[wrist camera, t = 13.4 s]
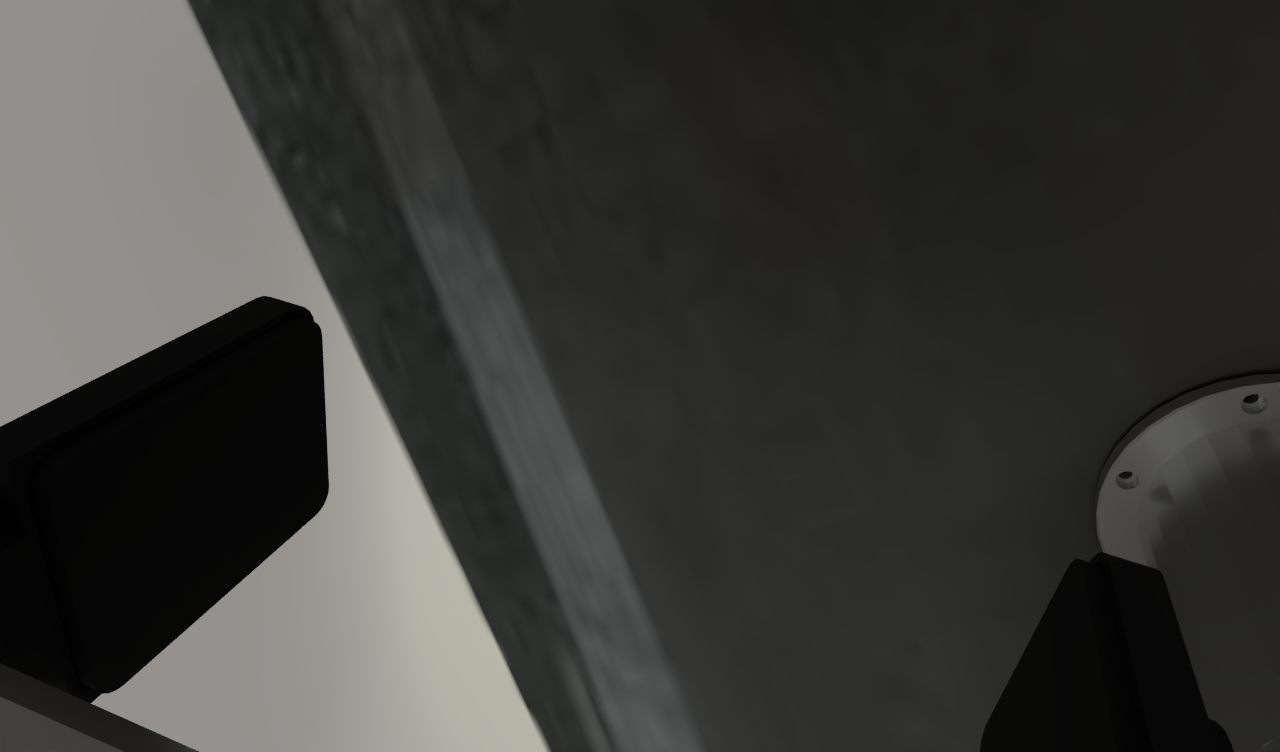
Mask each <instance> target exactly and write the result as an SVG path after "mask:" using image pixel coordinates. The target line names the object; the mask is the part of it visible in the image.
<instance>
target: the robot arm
mask: <svg viewBox="0 0 1280 752" xmlns="http://www.w3.org/2000/svg"><path fill="white" fill-rule="evenodd" d="M1252 394H1255V395H1254V396H1253V397H1252V398H1249V399H1244V398H1245V397H1246V396H1249V395H1252ZM1123 472H1128V473H1125V474H1123ZM328 490H329V479H328V457H327V434H326V412H325V392H324V368H323V346H322V333H321V329H320V327H319V325H318V324H317V323H315V322H314V320H313V316H312V314H311V313H310V311H309V310H307V309H306V308H305V307H301V306H298V305H295V304H292V303H288V302H285V301H282V300H279V299H275V298H272V297H267V296H262V297H259V298H256V299H254V300H252V301H250V302H248V303H246V304H244V305H242V306H240V307H238V308H236V309H234V310H232V311H230V312H228V313H226V314H224V315H222V316H220V317H218V318H216V319H214V320H212V321H210V322H208V323H206V324H204V325H202V326H200V327H198V328H196V329H194V330H192V331H190V332H188V333H186V334H184V335H182V336H180V337H178V338H176V339H174V340H172V341H170V342H168V343H166V344H164V345H162V346H160V347H158V348H156V349H154V350H152V351H150V352H148V353H146V354H144V355H142V356H140V357H139V358H136V359H135V360H132V361H130V362H128V363H126V364H124V365H122V366H120V367H119V368H116V369H114V370H112V371H111V372H109V373H107V374H105V375H103V376H101V377H99V378H97V379H95V380H93V381H91V382H89V383H87V384H85V385H83V386H81V387H79V388H77V389H75V390H73V391H71V392H69V393H67V394H65V395H63V396H61V397H59V398H57V399H55V400H53V401H51V402H49V403H47V404H45V405H43V406H41V407H39V408H37V409H35V410H33V411H31V412H29V413H27V414H25V415H23V416H21V417H19V418H17V419H15V420H13V421H11V422H9V423H7V424H5V425H3V426H1V427H0V752H198V751H196V750H194V749H191V748H189V747H187V746H185V745H183V744H180V743H178V742H176V741H173V740H171V739H169V738H167V737H164V736H162V735H160V734H158V733H156V732H153V731H151V730H149V729H147V728H144V727H142V726H140V725H138V724H135V723H133V722H131V721H129V720H126V719H124V718H122V717H120V716H117V715H115V714H113V713H111V712H108V711H106V710H104V709H102V708H99V707H97V706H95V705H93V704H90V703H92V702H93V701H94V700H95V699H96V698H97V697H98V696H100V695H101V694H102V693H110V692H113V691H115V690H117V689H119V688H120V687H121V686H123V685H124V684H125V683H126V682H127V681H129V680H130V679H131V678H132V677H133V676H134V675H135V674H136V673H138V672H139V671H140V670H141V669H142V668H143V667H144V666H146V665H147V664H148V663H149V662H150V661H151V660H152V659H153V658H154V657H156V656H157V655H158V654H159V653H160V652H161V651H162V650H164V649H165V648H166V647H167V646H168V645H169V644H170V643H172V642H173V641H174V640H175V639H176V638H177V637H178V636H179V635H181V634H182V633H183V632H184V631H185V630H186V629H187V628H188V627H190V626H191V625H192V624H193V623H194V622H195V621H196V620H198V619H199V618H200V617H201V616H202V615H203V614H204V613H206V612H207V611H208V610H209V609H210V608H211V607H212V606H213V605H215V604H216V603H217V602H218V601H219V600H220V599H221V598H222V597H224V596H225V595H226V594H227V593H228V592H229V591H230V590H231V589H233V588H234V587H235V586H236V585H237V584H238V583H239V582H241V581H242V580H243V579H244V578H245V577H246V576H247V575H249V574H250V573H251V572H252V571H253V570H254V569H255V568H256V567H258V566H259V565H260V564H261V563H262V562H263V561H264V560H265V559H267V558H268V557H269V556H270V555H271V554H272V553H273V552H275V551H276V550H277V549H278V548H279V547H280V546H281V545H282V544H284V543H285V542H286V541H287V540H288V539H289V538H290V537H292V536H293V535H294V534H295V533H296V532H297V531H298V530H300V529H301V528H302V527H303V526H304V525H305V524H306V523H307V522H308V521H310V520H311V519H312V518H313V517H314V516H315V515H316V514H317V513H318V512H319V511H320V510H321V508H322V507H323V505H324V503H325V501H326V498H327V495H328ZM1094 518H1095V523H1096V529H1097V534H1098V538H1099V541H1100V544H1101V547H1102V550H1103V552H1101V553H1097V554H1096V555H1095V556H1094V557H1093V558H1092V560H1091V561H1090V562H1086V561H1083V560H1080V559H1075V560H1074V561H1073V562H1072V563H1071V564H1070V565H1069V567H1068V569H1067V570H1066V572H1065V574H1064V576H1063V578H1062V580H1061V582H1060V584H1059V586H1058V588H1057V590H1056V592H1055V593H1054V595H1053V597H1052V599H1051V601H1050V603H1049V605H1048V607H1047V609H1046V611H1045V613H1044V615H1043V616H1042V618H1041V620H1040V622H1039V624H1038V626H1037V628H1036V630H1035V632H1034V634H1033V636H1032V638H1031V640H1030V641H1029V643H1028V645H1027V647H1026V649H1025V651H1024V653H1023V655H1022V657H1021V659H1020V661H1019V663H1018V664H1017V666H1016V668H1015V670H1014V672H1013V674H1012V676H1011V678H1010V680H1009V682H1008V684H1007V686H1006V687H1005V689H1004V691H1003V693H1002V695H1001V697H1000V699H999V701H998V703H997V705H996V707H995V709H994V710H993V712H992V714H991V716H990V718H989V720H988V722H987V724H986V727H985V730H984V733H983V736H982V741H981V747H980V752H1280V374H1260V375H1251V376H1246V377H1241V378H1236V379H1230V380H1225V381H1220V382H1217V383H1214V384H1211V385H1208V386H1205V387H1202V388H1200V389H1197V390H1194V391H1191V392H1188V393H1186V394H1184V395H1182V396H1180V397H1178V398H1176V399H1174V400H1172V401H1170V402H1169V403H1167V404H1165V405H1163V406H1161V407H1159V408H1157V409H1156V410H1155V411H1153V412H1152V413H1151V414H1149V415H1148V416H1147V417H1146V418H1144V419H1143V420H1142V421H1140V422H1139V423H1138V424H1136V425H1135V426H1134V427H1133V428H1132V429H1131V430H1130V431H1129V432H1128V433H1127V434H1126V435H1125V437H1124V438H1123V439H1122V440H1121V441H1120V442H1119V443H1118V444H1117V445H1116V447H1115V448H1114V450H1113V451H1112V453H1111V455H1110V456H1109V458H1108V460H1107V462H1106V463H1105V465H1104V467H1103V468H1102V471H1101V474H1100V477H1099V481H1098V484H1097V487H1096V490H1095V502H1094Z"/></svg>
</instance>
